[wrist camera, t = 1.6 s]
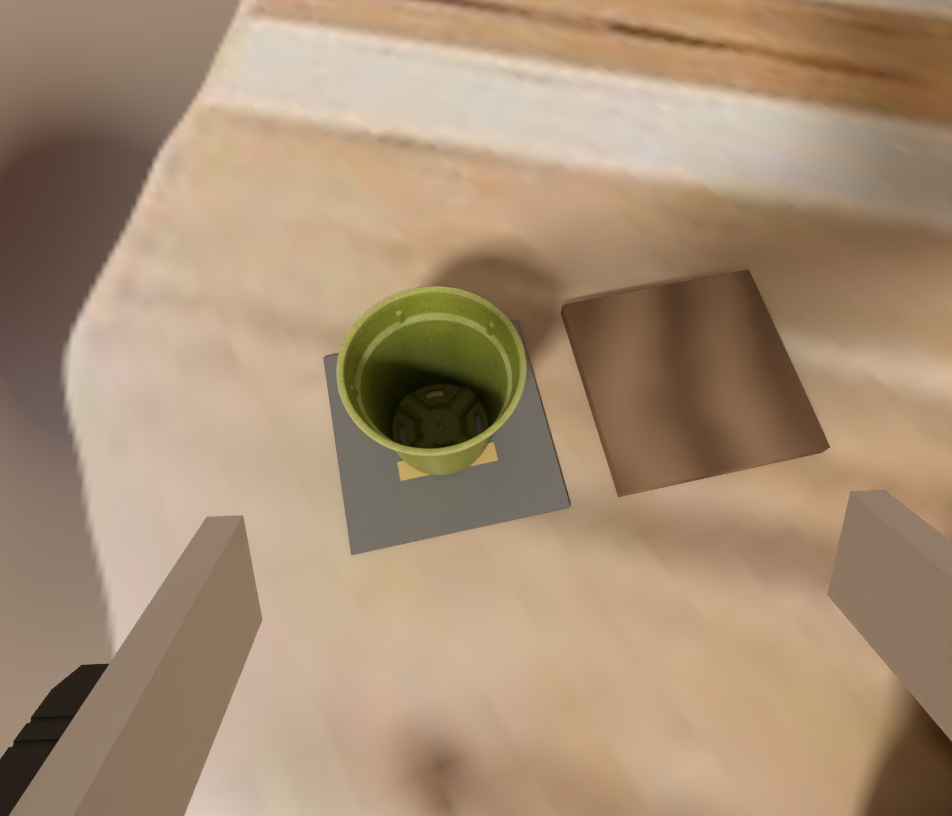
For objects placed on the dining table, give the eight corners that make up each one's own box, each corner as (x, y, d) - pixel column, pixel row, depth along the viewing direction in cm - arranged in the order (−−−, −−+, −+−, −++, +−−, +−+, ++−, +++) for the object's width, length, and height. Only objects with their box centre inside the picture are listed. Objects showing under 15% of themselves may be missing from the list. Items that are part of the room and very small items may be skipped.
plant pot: (357, 372, 41) (328, 299, 33) (501, 350, 42) (506, 272, 34) (373, 514, 38) (345, 470, 30) (530, 487, 38) (544, 437, 30)
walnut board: (742, 278, 44) (748, 269, 43) (821, 452, 39) (830, 447, 38) (560, 313, 43) (562, 305, 42) (618, 497, 38) (621, 492, 37)
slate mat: (517, 321, 43) (517, 319, 43) (569, 507, 38) (570, 506, 38) (323, 358, 42) (323, 356, 42) (352, 555, 37) (351, 554, 37)
